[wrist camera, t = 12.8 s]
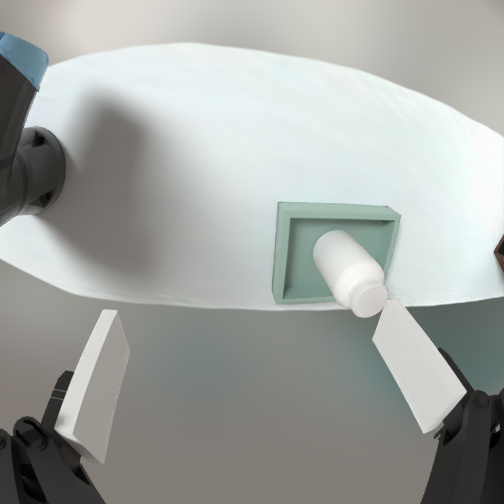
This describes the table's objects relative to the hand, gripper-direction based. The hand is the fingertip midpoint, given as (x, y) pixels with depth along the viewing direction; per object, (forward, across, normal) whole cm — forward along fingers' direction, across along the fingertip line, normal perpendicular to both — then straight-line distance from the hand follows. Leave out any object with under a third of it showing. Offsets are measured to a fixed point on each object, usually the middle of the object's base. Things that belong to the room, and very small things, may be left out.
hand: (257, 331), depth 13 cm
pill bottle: (+31, +17, -11) cm, 37 cm away
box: (+32, +17, -11) cm, 38 cm away
